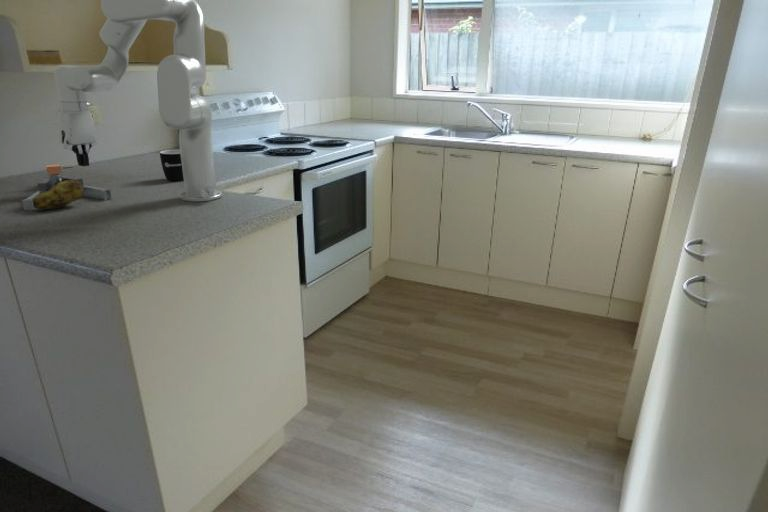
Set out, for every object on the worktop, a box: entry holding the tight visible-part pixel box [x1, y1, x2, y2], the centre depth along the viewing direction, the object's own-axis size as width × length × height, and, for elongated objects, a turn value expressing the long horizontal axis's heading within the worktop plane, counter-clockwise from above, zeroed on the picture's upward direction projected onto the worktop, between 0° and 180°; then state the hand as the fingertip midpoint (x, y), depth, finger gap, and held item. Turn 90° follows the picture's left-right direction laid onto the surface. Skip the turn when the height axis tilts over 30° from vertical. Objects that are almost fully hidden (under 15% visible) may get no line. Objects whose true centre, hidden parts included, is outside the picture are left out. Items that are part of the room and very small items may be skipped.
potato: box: [33, 180, 84, 211], centre depth 152 cm, size 8×13×8 cm, turn 110°
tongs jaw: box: [57, 175, 113, 201], centre depth 167 cm, size 23×2×5 cm, turn 63°
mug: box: [159, 149, 184, 183], centre depth 188 cm, size 12×9×10 cm
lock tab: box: [45, 164, 62, 175], centre depth 174 cm, size 3×4×2 cm
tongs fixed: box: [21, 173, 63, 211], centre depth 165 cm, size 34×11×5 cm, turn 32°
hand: (83, 165), depth 170 cm, fingers closed
